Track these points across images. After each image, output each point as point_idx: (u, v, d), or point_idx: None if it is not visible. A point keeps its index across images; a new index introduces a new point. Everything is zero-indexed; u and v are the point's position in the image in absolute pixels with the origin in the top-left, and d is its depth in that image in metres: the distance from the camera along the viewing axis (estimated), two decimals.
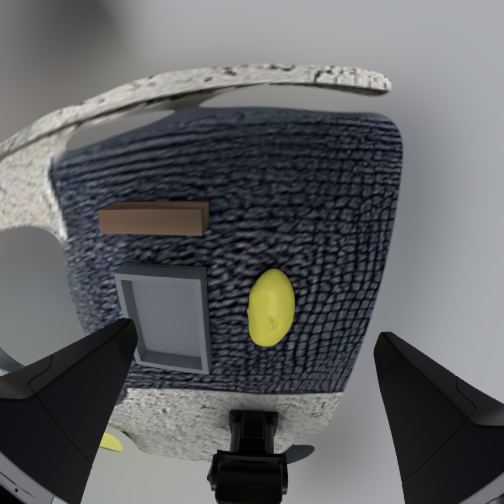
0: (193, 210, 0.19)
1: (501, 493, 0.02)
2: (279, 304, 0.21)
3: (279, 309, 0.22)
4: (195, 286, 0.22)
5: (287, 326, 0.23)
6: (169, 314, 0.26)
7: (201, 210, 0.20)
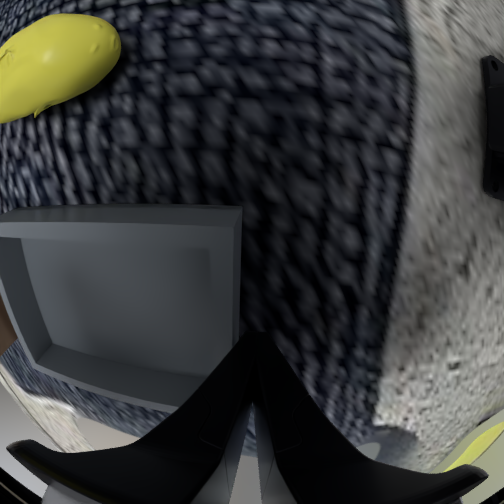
0: None
1: None
2: None
3: None
4: None
5: None
6: (97, 299, 0.10)
7: None
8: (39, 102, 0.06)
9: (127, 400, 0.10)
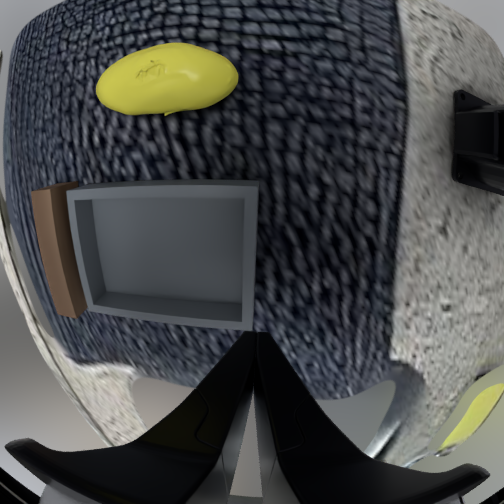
0: (32, 200, 0.13)
1: None
2: (121, 67, 0.10)
3: (129, 64, 0.10)
4: (74, 197, 0.13)
5: (169, 46, 0.10)
6: (156, 245, 0.16)
7: (34, 190, 0.13)
8: (181, 106, 0.12)
9: (173, 321, 0.16)
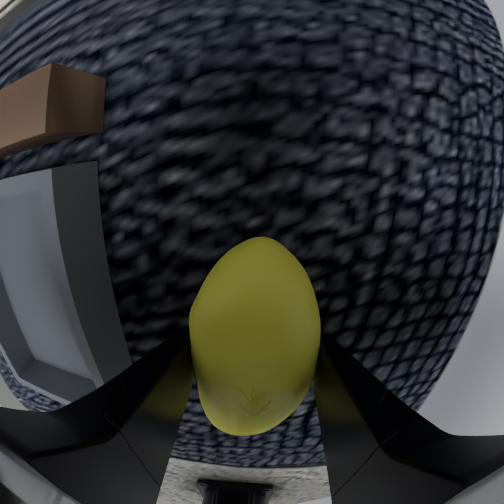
0: (38, 71, 0.04)
1: None
2: (276, 353, 0.06)
3: (277, 368, 0.06)
4: (43, 193, 0.06)
5: (297, 401, 0.07)
6: (41, 288, 0.09)
7: (55, 67, 0.04)
8: (198, 389, 0.08)
9: None
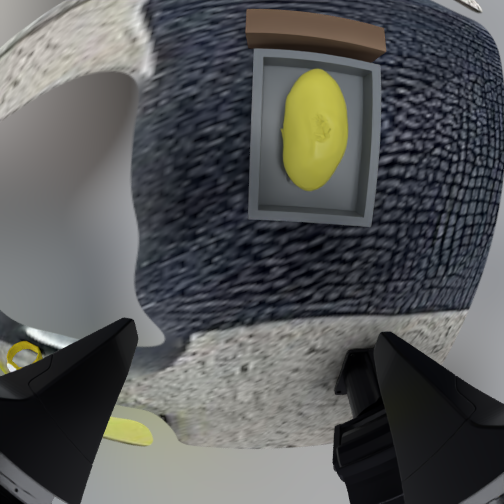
0: (376, 27, 0.11)
1: (501, 493, 0.02)
2: (331, 100, 0.13)
3: (332, 108, 0.13)
4: (374, 72, 0.13)
5: (342, 142, 0.14)
6: None
7: (382, 30, 0.12)
8: (285, 146, 0.15)
9: (254, 144, 0.16)
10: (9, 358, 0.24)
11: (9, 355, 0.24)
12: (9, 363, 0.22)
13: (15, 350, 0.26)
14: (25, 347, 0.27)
